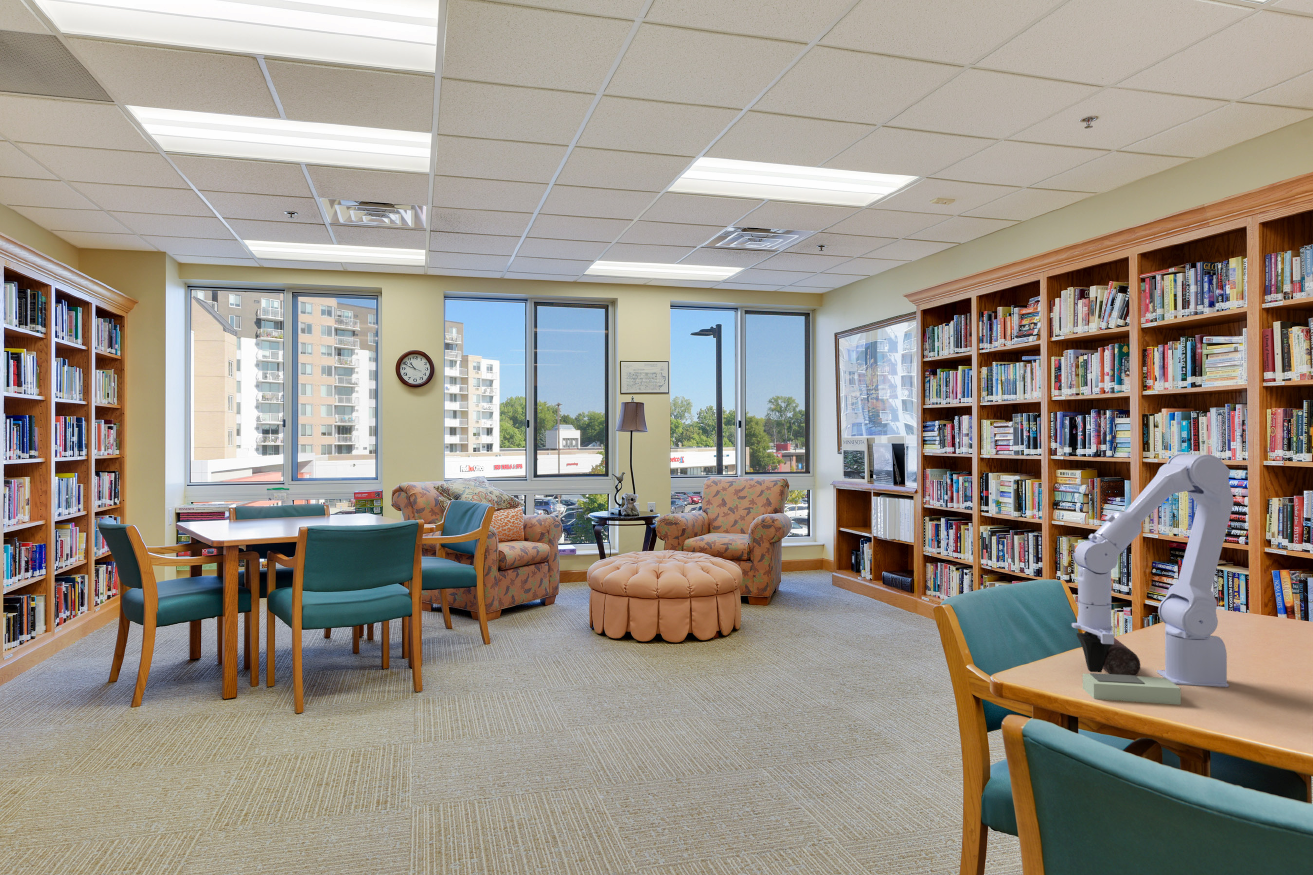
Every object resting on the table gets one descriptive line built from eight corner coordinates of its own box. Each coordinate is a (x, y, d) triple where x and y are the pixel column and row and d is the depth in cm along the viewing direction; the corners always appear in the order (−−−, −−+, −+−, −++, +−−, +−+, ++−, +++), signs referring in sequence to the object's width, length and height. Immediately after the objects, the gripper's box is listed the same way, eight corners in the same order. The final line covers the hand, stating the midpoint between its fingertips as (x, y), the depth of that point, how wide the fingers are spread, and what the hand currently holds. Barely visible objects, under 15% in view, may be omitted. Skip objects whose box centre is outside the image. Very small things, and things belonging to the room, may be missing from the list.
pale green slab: (1165, 693, 143) (1164, 676, 143) (1180, 705, 137) (1180, 686, 137) (1082, 688, 146) (1082, 671, 146) (1093, 700, 140) (1093, 682, 140)
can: (1149, 666, 150) (1124, 647, 163) (1123, 642, 151) (1100, 625, 164) (1125, 688, 151) (1102, 667, 164) (1099, 664, 152) (1078, 645, 165)
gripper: (1061, 594, 162) (1061, 659, 162) (1085, 609, 147) (1085, 681, 147) (1098, 595, 160) (1098, 661, 160) (1126, 611, 146) (1126, 683, 146)
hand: (1094, 671), depth 154 cm, fingers closed
